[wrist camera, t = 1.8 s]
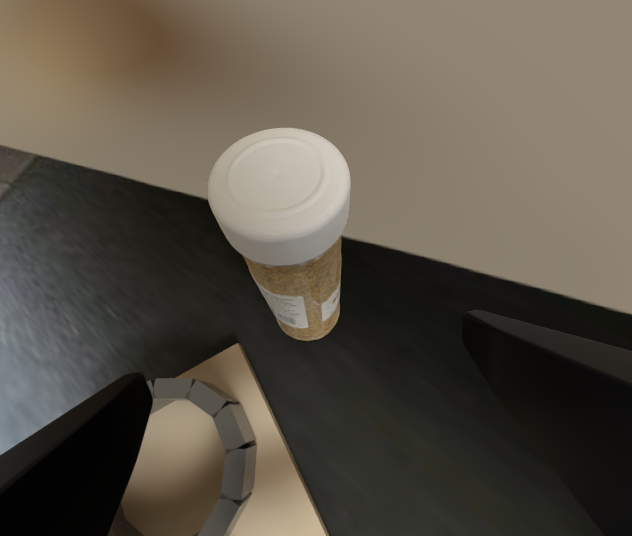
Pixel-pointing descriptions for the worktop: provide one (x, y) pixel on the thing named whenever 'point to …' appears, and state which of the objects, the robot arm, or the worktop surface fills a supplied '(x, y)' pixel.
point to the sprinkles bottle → (286, 222)
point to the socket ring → (234, 440)
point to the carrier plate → (216, 464)
